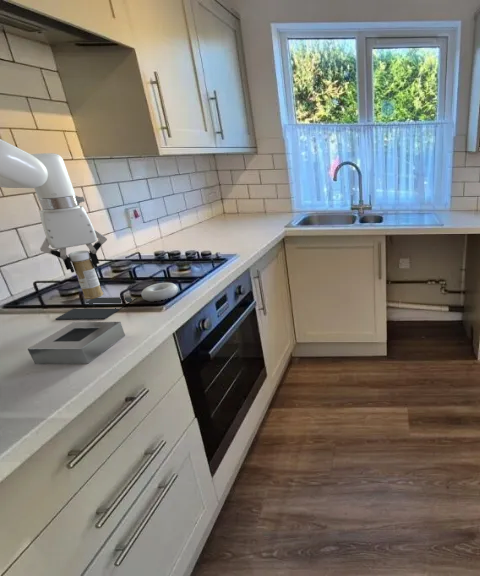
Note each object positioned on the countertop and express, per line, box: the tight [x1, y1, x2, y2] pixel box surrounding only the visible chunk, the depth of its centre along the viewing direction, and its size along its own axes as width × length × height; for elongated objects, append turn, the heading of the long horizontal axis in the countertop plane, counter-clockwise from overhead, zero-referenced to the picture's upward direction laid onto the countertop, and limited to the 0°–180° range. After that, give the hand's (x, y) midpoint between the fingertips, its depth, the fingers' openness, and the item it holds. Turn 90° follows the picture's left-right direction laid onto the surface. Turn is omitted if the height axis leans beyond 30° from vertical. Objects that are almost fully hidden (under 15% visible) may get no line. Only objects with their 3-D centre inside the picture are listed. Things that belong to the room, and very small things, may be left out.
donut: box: [140, 282, 179, 303], centre depth 113 cm, size 10×4×10 cm
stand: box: [27, 321, 126, 365], centre depth 85 cm, size 12×12×4 cm
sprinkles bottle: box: [67, 250, 104, 300], centre depth 102 cm, size 5×5×14 cm
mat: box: [55, 296, 132, 321], centre depth 106 cm, size 14×14×1 cm
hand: (84, 268), depth 102 cm, fingers closed on sprinkles bottle, 4 cm apart
